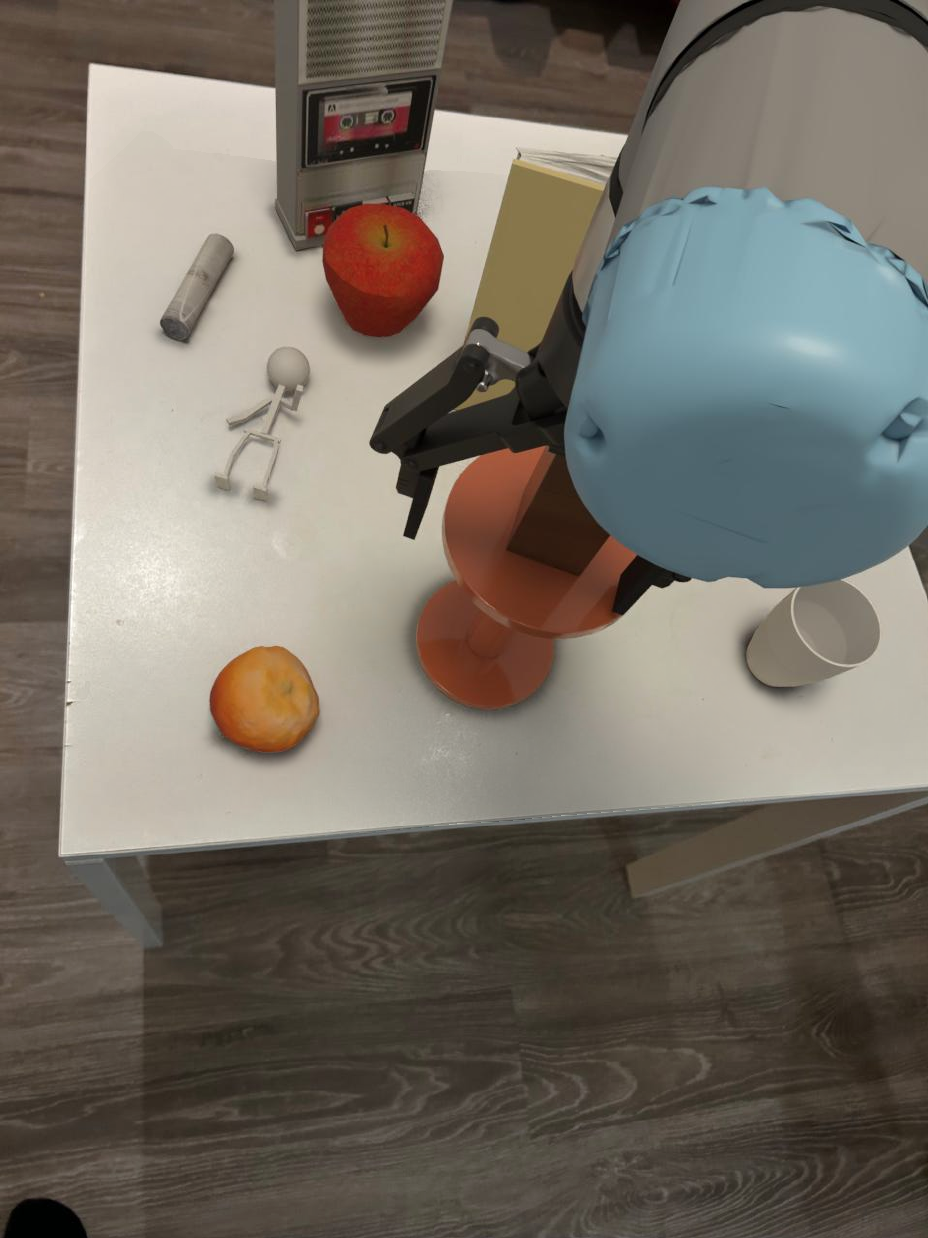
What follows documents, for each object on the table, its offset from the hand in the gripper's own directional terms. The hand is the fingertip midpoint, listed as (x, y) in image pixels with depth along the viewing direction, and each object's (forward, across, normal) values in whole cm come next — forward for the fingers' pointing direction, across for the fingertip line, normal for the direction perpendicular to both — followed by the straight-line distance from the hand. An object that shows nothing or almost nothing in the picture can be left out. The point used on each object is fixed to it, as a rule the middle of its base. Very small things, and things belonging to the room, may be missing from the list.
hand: (519, 558), depth 51 cm
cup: (+21, -28, -11) cm, 36 cm away
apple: (+21, +18, -32) cm, 42 cm away
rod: (+21, +35, -28) cm, 49 cm away
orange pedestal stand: (+21, -2, -3) cm, 21 cm away
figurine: (+21, +23, -16) cm, 35 cm away
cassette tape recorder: (+21, +25, -44) cm, 55 cm away
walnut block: (+1, -2, -3) cm, 4 cm away
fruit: (+21, +13, +9) cm, 26 cm away
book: (+21, -9, -31) cm, 38 cm away
